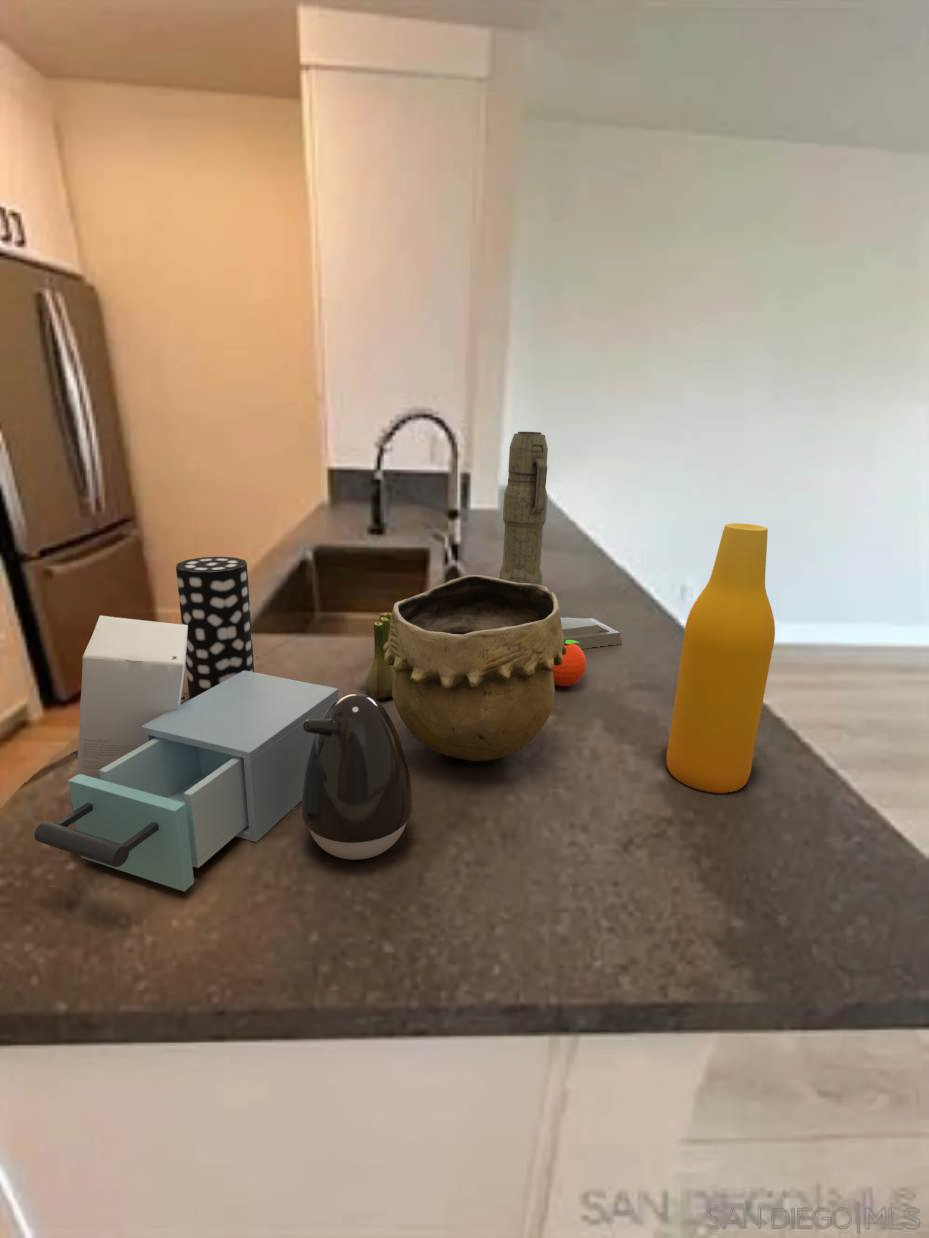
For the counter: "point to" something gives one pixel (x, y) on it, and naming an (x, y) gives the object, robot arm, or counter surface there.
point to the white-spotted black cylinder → (215, 620)
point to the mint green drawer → (155, 811)
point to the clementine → (570, 665)
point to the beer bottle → (724, 668)
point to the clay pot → (475, 665)
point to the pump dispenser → (356, 780)
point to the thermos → (525, 508)
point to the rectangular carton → (126, 686)
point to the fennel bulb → (380, 662)
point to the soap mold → (589, 632)
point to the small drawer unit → (254, 737)
